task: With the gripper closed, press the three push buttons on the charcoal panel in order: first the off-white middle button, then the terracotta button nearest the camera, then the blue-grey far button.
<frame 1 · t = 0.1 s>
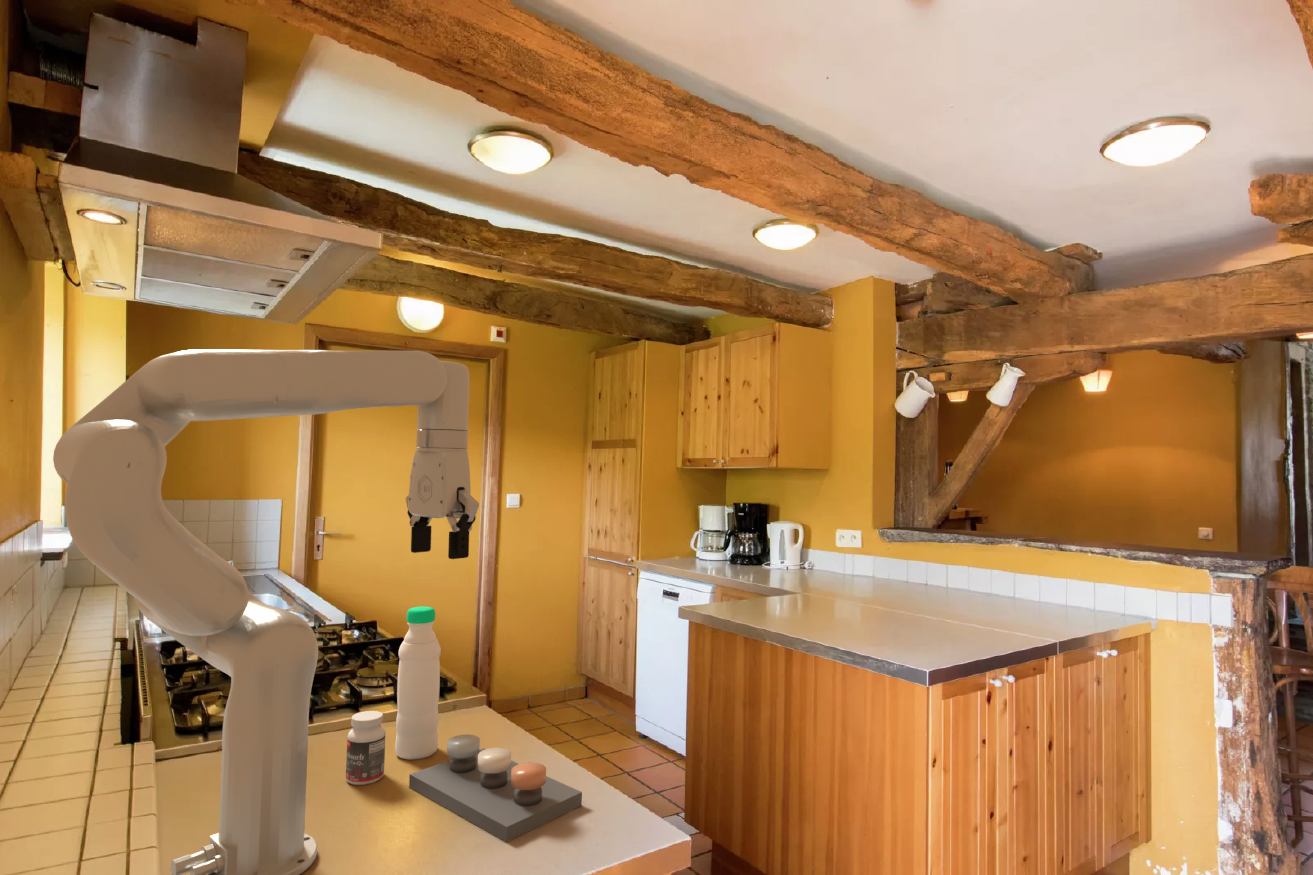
hand: (439, 554, 109), 37 cm above the counter, tool pointing down, fingers open, 9 cm apart
bluegrey button: (463, 746, 115), point 5 cm above the counter, slide at 0.0 cm
white button: (494, 760, 110), point 5 cm above the counter, slide at 0.0 cm
terracotta button: (528, 775, 105), point 5 cm above the counter, slide at 0.0 cm
water bottle: (416, 753, 125), on the counter
pill bottle: (364, 779, 115), on the counter
button panel: (493, 796, 110), on the counter
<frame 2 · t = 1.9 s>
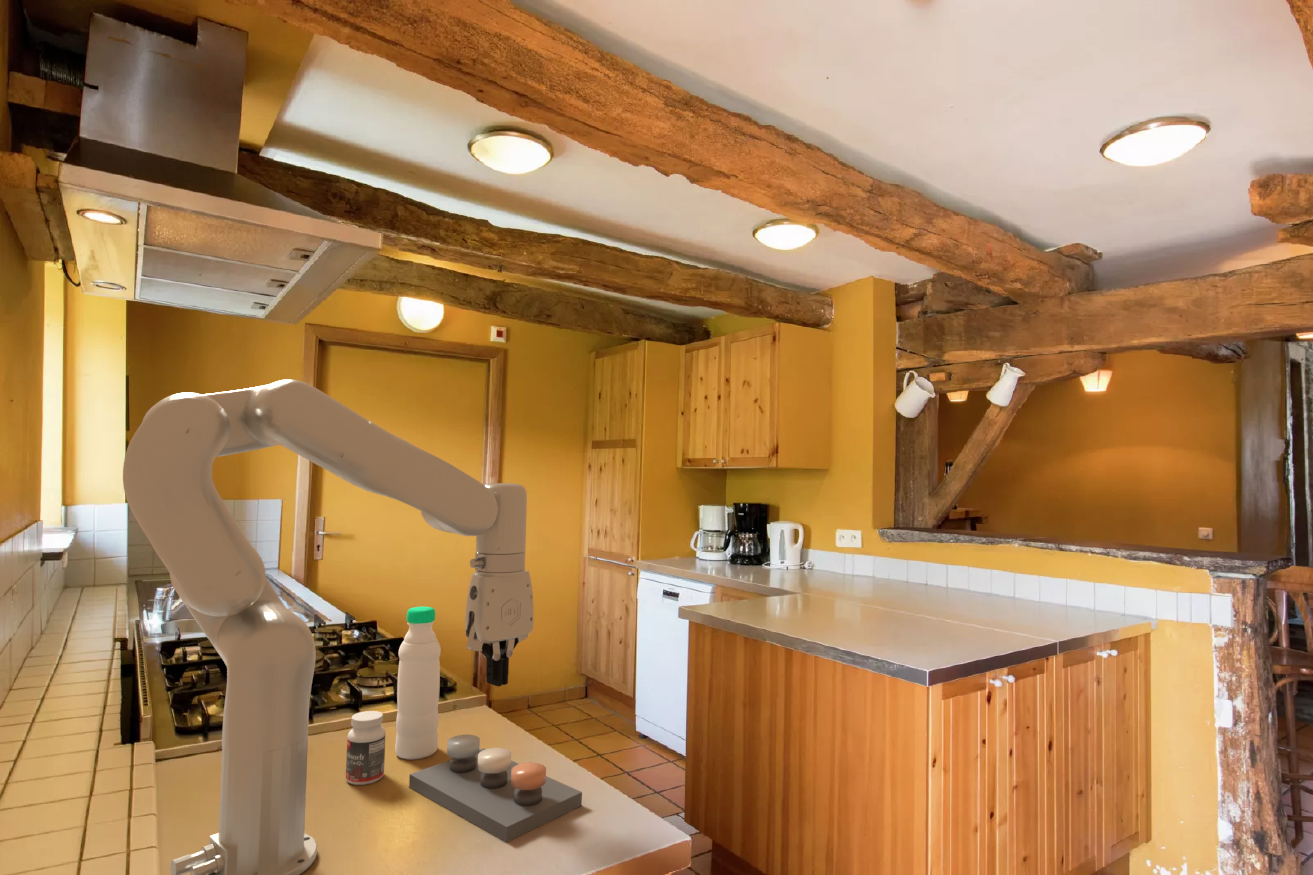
hand: (497, 683, 110), 17 cm above the counter, tool pointing down, fingers closed
nothing on the counter moved.
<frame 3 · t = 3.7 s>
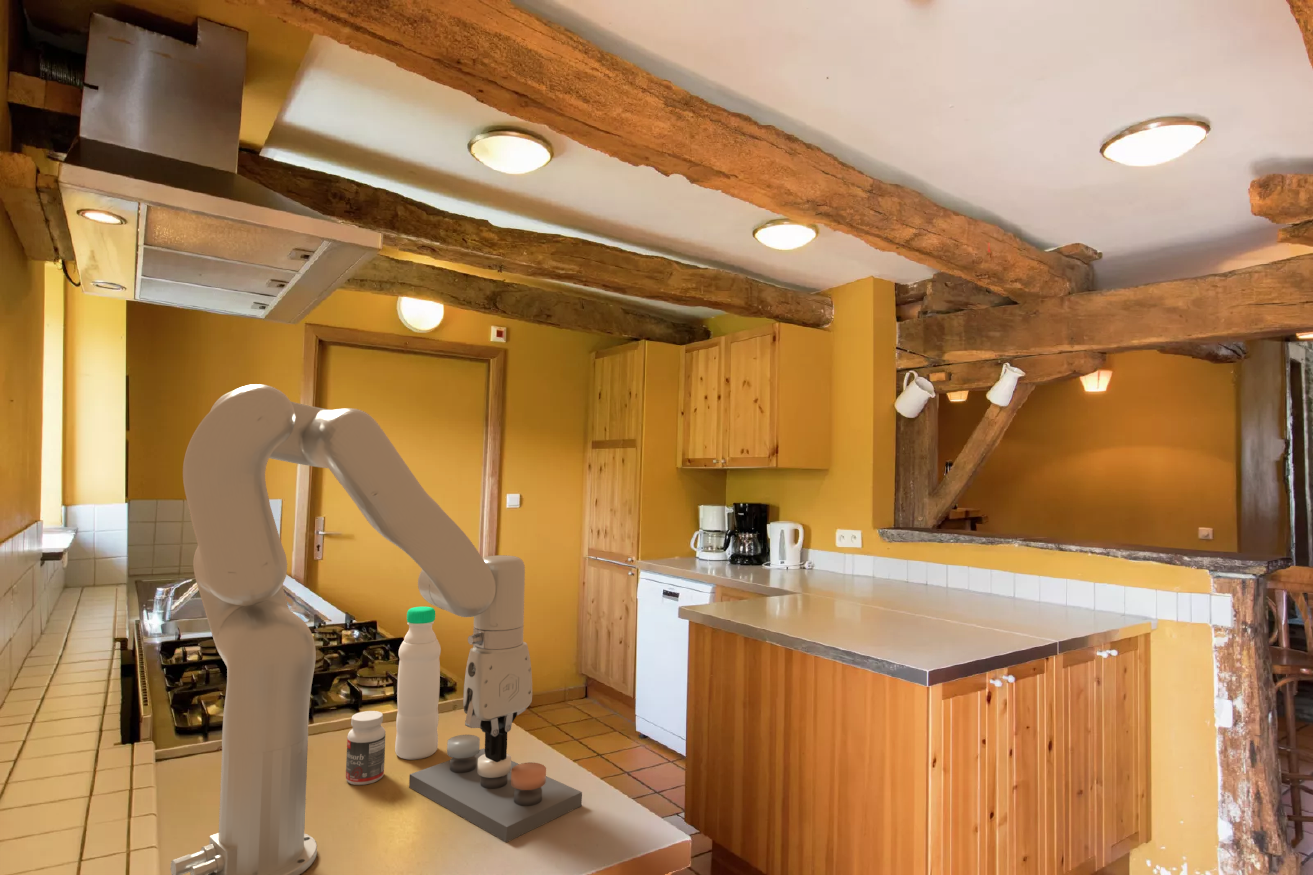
hand: (495, 758, 110), 6 cm above the counter, tool pointing down, fingers closed
white button: (494, 764, 110), point 5 cm above the counter, slide at 0.6 cm, touching gripper
everything else where it was.
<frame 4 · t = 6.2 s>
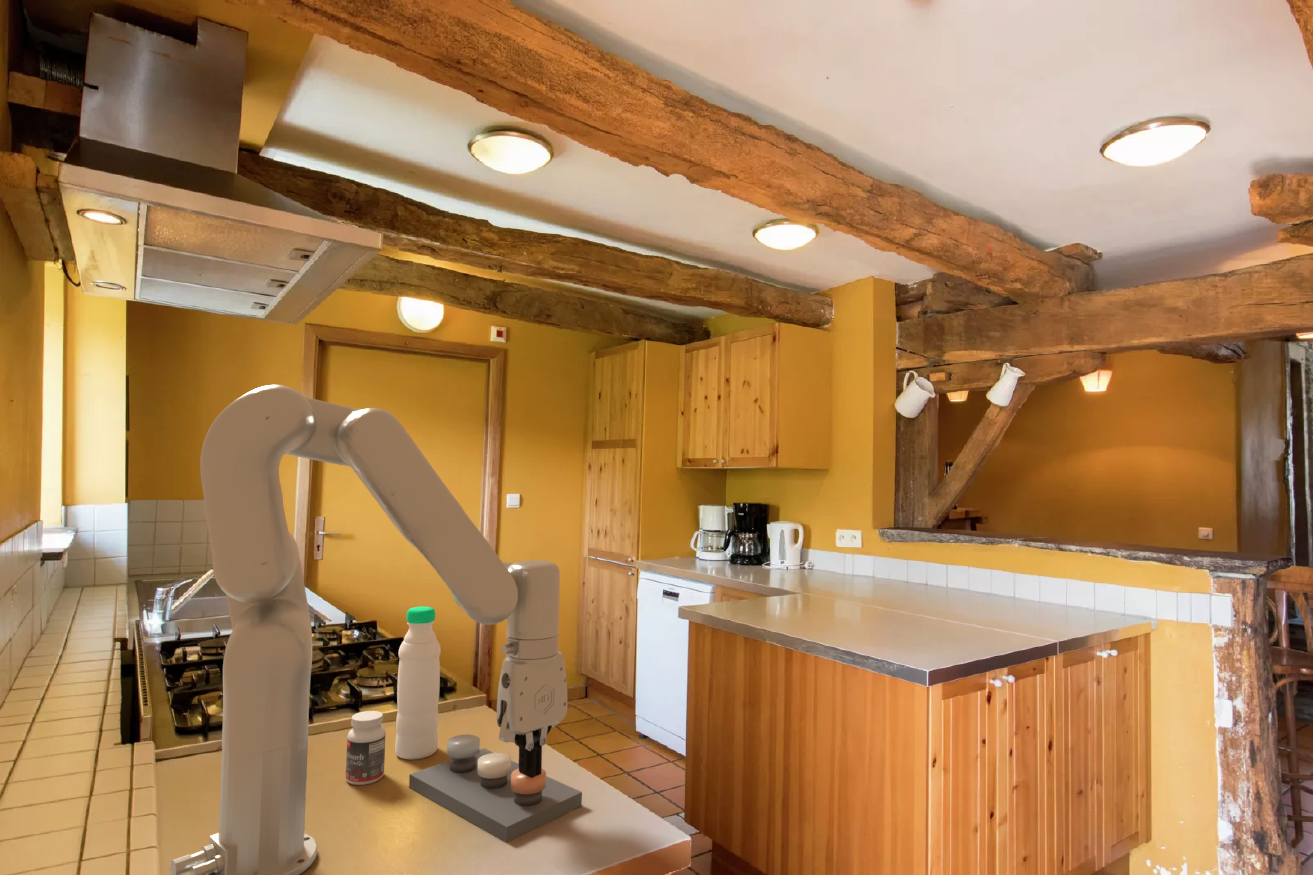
hand: (530, 773, 105), 6 cm above the counter, tool pointing down, fingers closed
white button: (494, 765, 110), point 5 cm above the counter, slide at 0.8 cm
terracotta button: (528, 780, 105), point 5 cm above the counter, slide at 0.6 cm
everything else where it was.
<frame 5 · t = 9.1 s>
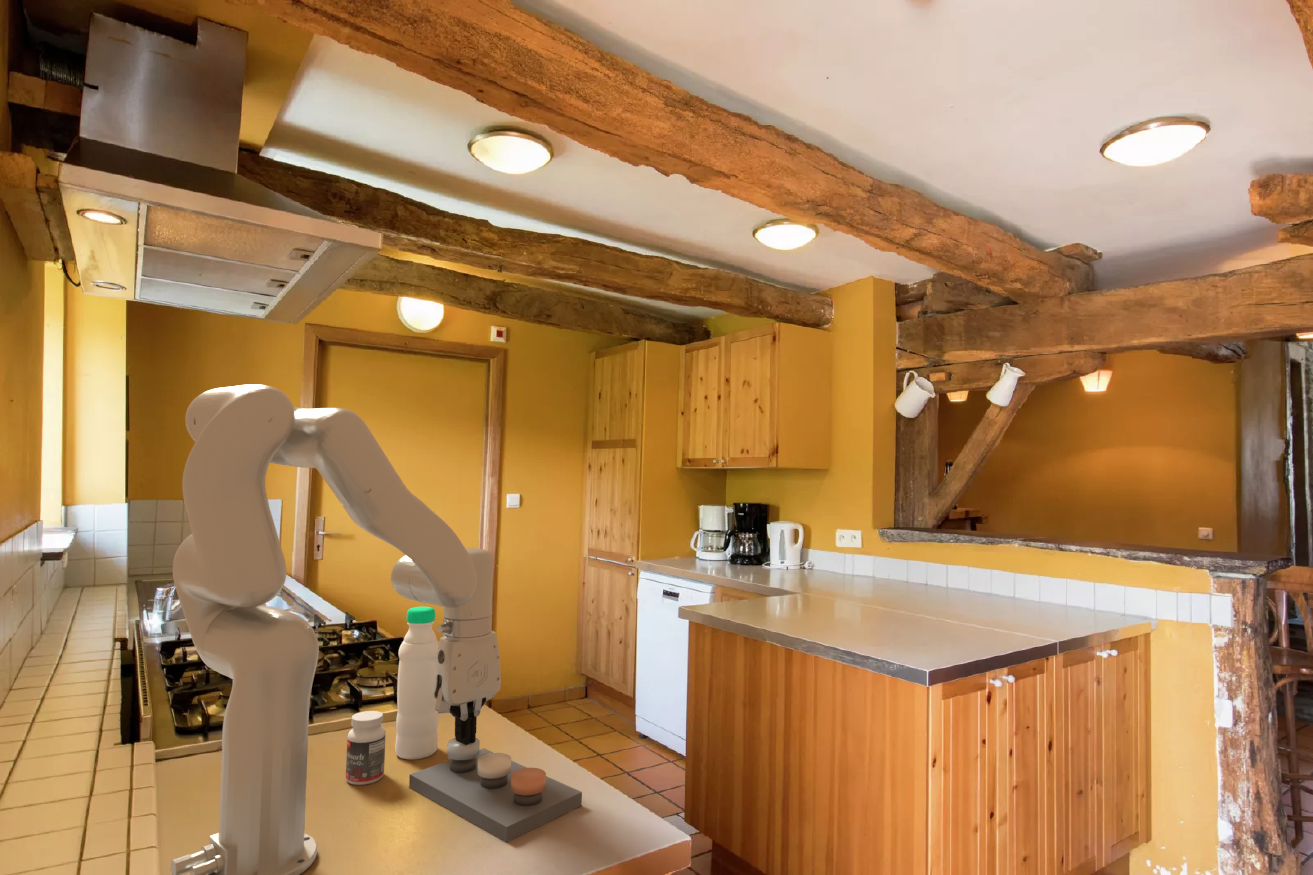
hand: (465, 741, 115), 6 cm above the counter, tool pointing down, fingers closed
bluegrey button: (463, 748, 115), point 5 cm above the counter, slide at 0.3 cm, touching gripper
everything else where it was.
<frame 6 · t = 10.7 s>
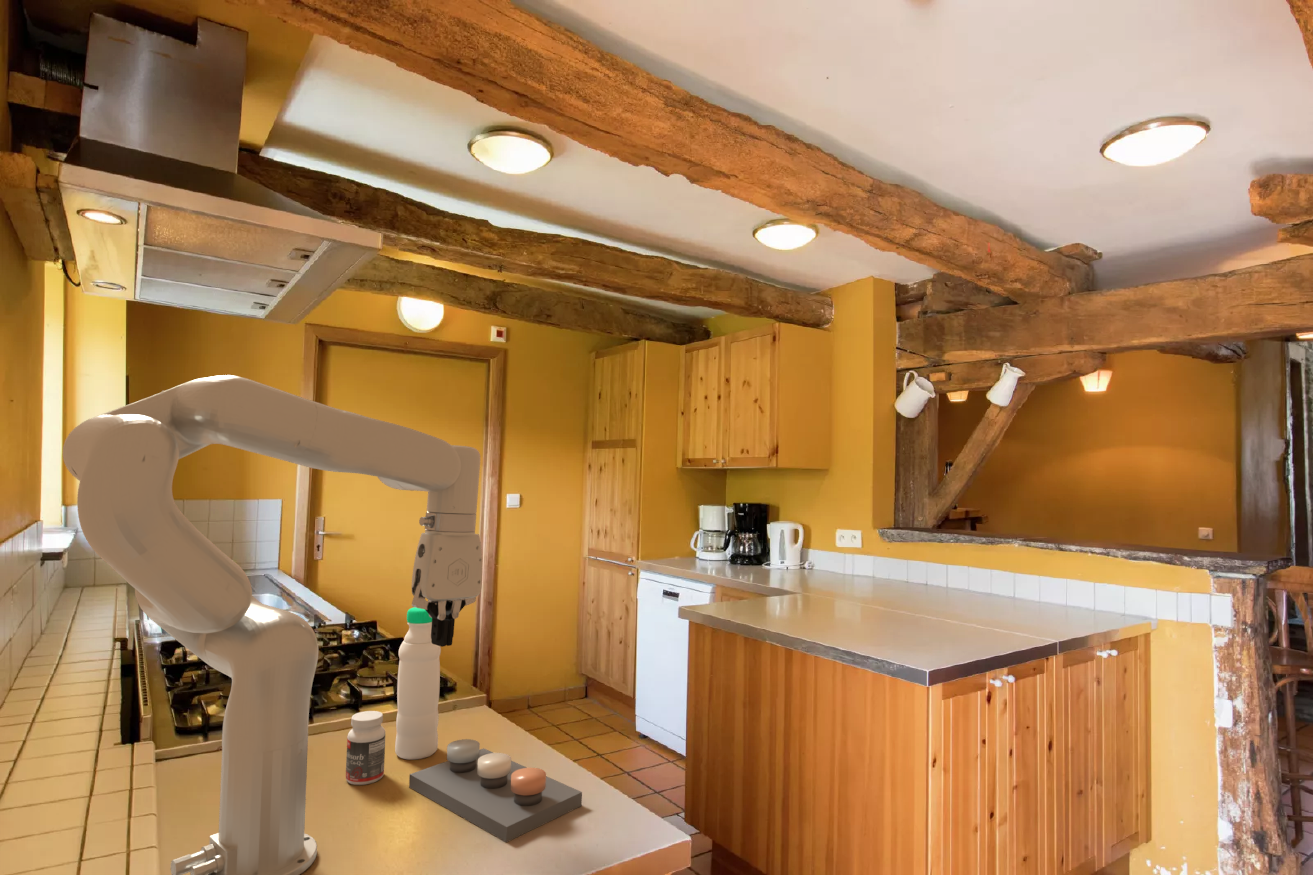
hand: (441, 644, 111), 23 cm above the counter, tool pointing down, fingers closed
bluegrey button: (463, 751, 115), point 5 cm above the counter, slide at 0.8 cm
everything else where it was.
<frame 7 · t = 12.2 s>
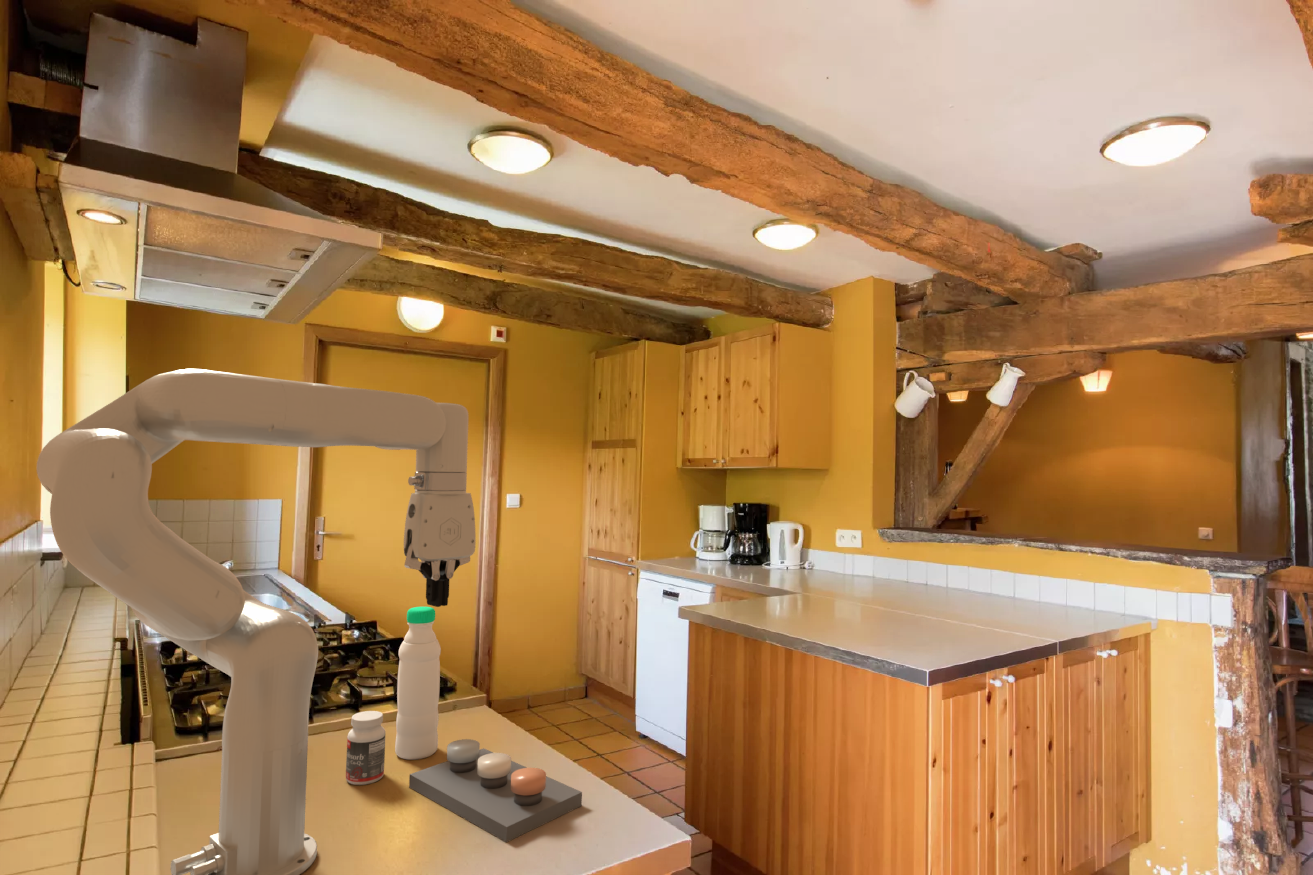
hand: (437, 604, 109), 29 cm above the counter, tool pointing down, fingers closed
nothing on the counter moved.
at the end: white button slide at 0.8 cm; terracotta button slide at 0.8 cm; bluegrey button slide at 0.8 cm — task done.
